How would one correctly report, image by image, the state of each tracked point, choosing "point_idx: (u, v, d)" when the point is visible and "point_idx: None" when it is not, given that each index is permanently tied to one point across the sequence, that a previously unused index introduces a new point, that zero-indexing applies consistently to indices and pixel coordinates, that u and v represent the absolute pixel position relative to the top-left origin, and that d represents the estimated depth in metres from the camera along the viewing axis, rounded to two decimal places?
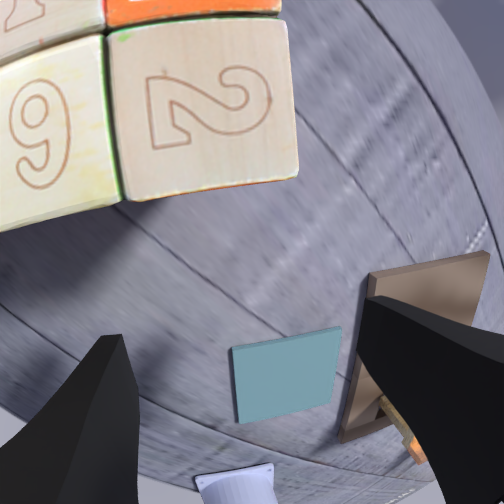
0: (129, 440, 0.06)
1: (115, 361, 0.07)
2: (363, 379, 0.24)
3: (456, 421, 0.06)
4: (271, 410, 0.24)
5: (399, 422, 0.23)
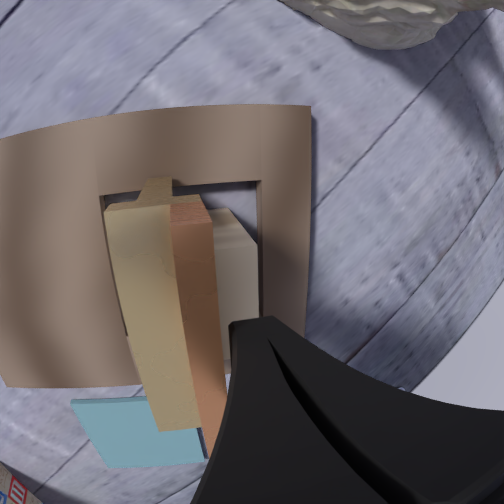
0: None
1: None
2: None
3: None
4: (186, 444, 0.20)
5: None
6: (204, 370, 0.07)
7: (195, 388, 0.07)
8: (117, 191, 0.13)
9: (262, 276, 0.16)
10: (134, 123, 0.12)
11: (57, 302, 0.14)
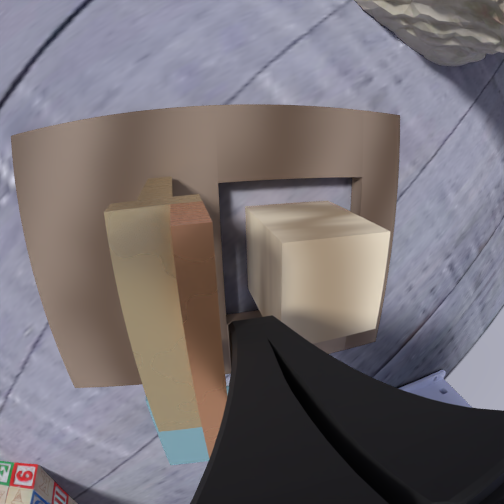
0: None
1: None
2: None
3: None
4: None
5: None
6: (204, 370, 0.07)
7: (195, 388, 0.07)
8: (237, 179, 0.14)
9: None
10: (257, 115, 0.13)
11: None
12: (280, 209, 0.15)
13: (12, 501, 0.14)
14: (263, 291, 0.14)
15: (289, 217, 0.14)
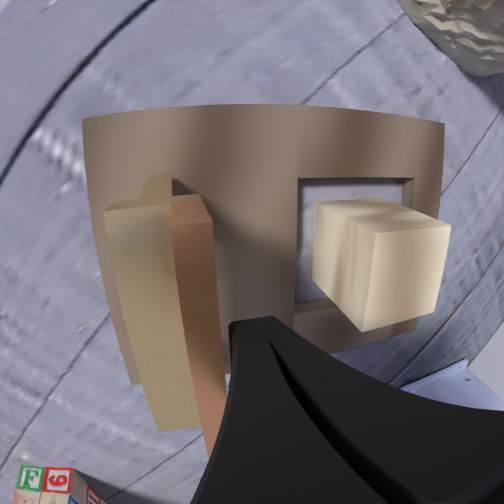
0: None
1: None
2: None
3: None
4: None
5: None
6: (204, 370, 0.07)
7: (195, 388, 0.07)
8: (315, 176, 0.15)
9: None
10: (333, 118, 0.14)
11: (232, 283, 0.16)
12: (349, 205, 0.16)
13: None
14: (339, 279, 0.15)
15: (363, 212, 0.14)
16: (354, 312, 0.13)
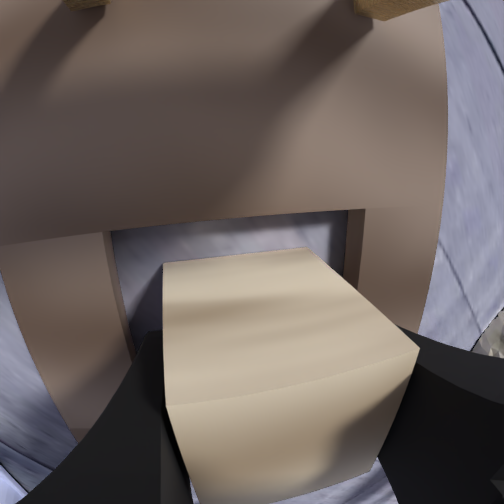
0: None
1: None
2: (9, 249, 0.07)
3: (414, 444, 0.05)
4: None
5: None
6: None
7: None
8: (365, 236, 0.09)
9: None
10: (426, 256, 0.10)
11: (187, 90, 0.07)
12: None
13: None
14: (230, 312, 0.07)
15: None
16: (197, 367, 0.05)
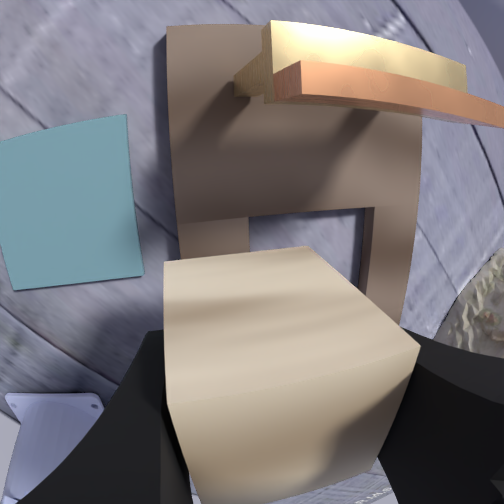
0: None
1: None
2: (188, 225, 0.15)
3: (414, 444, 0.05)
4: (47, 268, 0.14)
5: (252, 63, 0.10)
6: (447, 97, 0.07)
7: (434, 84, 0.07)
8: (375, 221, 0.17)
9: None
10: (409, 233, 0.18)
11: (293, 147, 0.15)
12: None
13: None
14: (231, 310, 0.07)
15: None
16: (198, 365, 0.05)
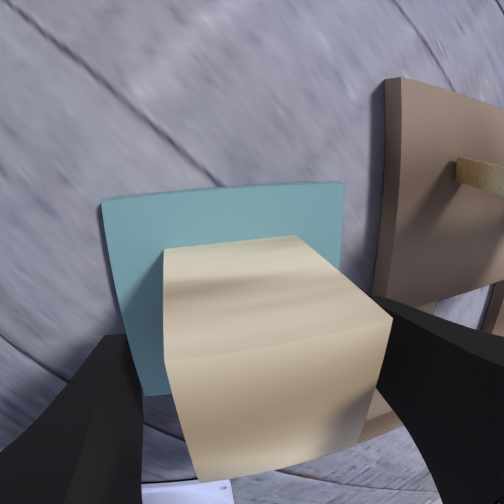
0: (133, 440, 0.06)
1: (119, 361, 0.07)
2: None
3: (453, 423, 0.06)
4: None
5: None
6: None
7: None
8: None
9: None
10: None
11: (479, 232, 0.13)
12: None
13: None
14: (223, 288, 0.07)
15: None
16: (192, 331, 0.06)
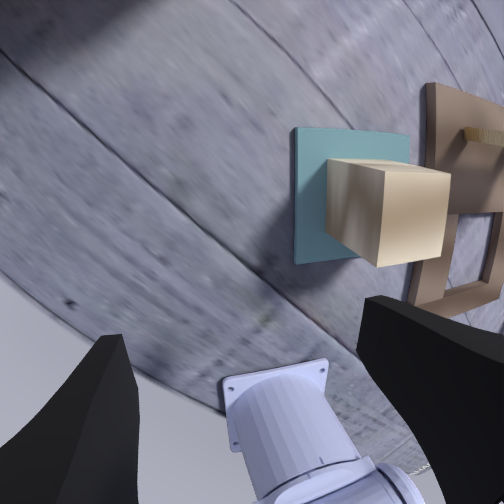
0: (129, 440, 0.06)
1: (115, 361, 0.07)
2: None
3: (456, 421, 0.06)
4: (337, 244, 0.20)
5: (500, 133, 0.15)
6: None
7: None
8: (502, 220, 0.23)
9: (459, 292, 0.24)
10: None
11: (479, 173, 0.20)
12: None
13: None
14: (379, 164, 0.15)
15: None
16: (384, 168, 0.13)
